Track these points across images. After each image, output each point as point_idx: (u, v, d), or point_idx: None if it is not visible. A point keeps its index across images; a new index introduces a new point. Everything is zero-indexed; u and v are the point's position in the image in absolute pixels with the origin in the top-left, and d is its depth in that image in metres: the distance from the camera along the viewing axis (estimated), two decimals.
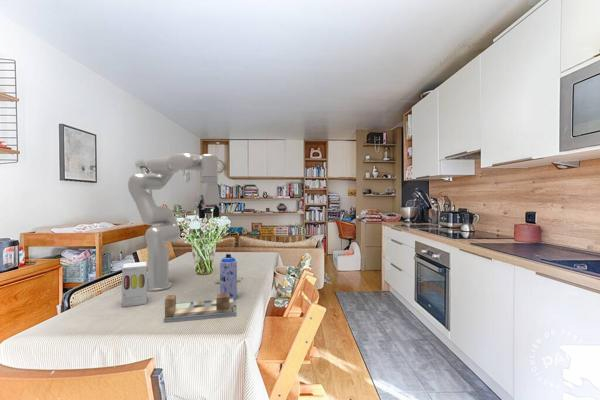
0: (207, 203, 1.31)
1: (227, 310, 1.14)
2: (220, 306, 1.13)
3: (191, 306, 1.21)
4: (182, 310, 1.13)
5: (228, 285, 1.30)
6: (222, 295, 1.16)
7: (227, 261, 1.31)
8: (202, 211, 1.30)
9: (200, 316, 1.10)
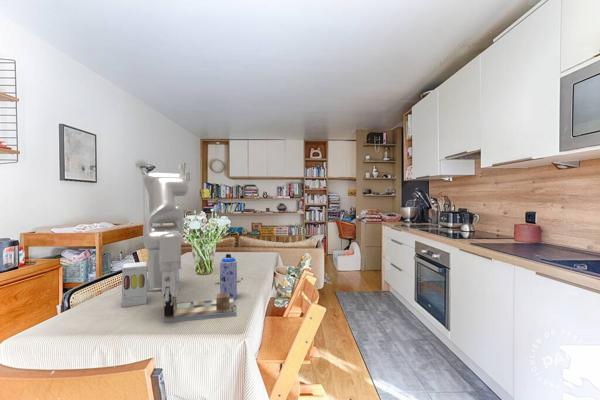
0: None
1: (227, 310, 1.14)
2: (220, 306, 1.13)
3: (191, 306, 1.21)
4: (182, 310, 1.13)
5: (228, 285, 1.30)
6: (222, 295, 1.16)
7: (227, 261, 1.31)
8: None
9: (200, 316, 1.10)
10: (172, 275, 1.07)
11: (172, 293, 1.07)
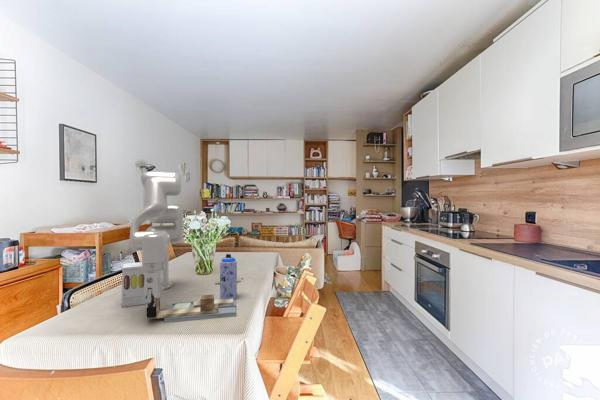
0: None
1: (211, 311, 1.13)
2: (204, 307, 1.12)
3: (191, 306, 1.21)
4: (165, 311, 1.11)
5: (228, 285, 1.30)
6: (206, 296, 1.14)
7: (227, 261, 1.31)
8: None
9: (200, 316, 1.10)
10: (154, 276, 1.06)
11: (154, 294, 1.05)
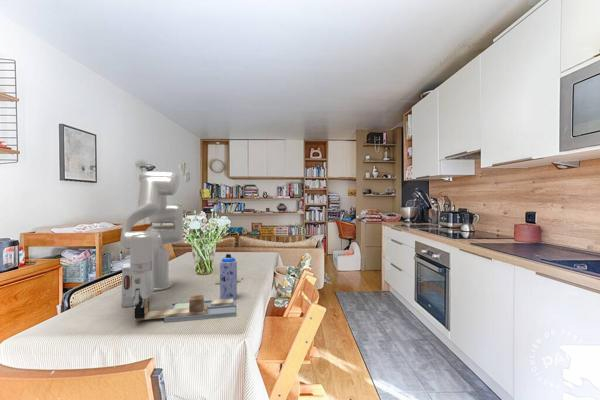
0: None
1: (200, 312, 1.12)
2: (192, 308, 1.11)
3: None
4: (154, 312, 1.10)
5: (228, 285, 1.30)
6: (196, 297, 1.13)
7: (227, 261, 1.31)
8: None
9: (200, 316, 1.10)
10: (142, 276, 1.05)
11: (142, 295, 1.04)
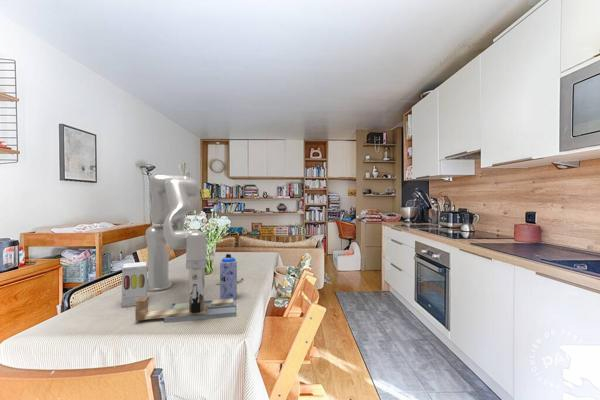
0: None
1: (200, 312, 1.12)
2: None
3: None
4: (154, 312, 1.10)
5: (228, 285, 1.30)
6: None
7: (227, 261, 1.31)
8: None
9: (200, 316, 1.10)
10: (199, 273, 1.09)
11: (199, 291, 1.09)
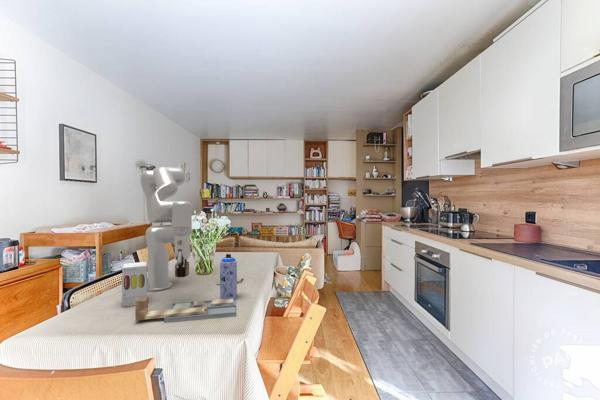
0: None
1: (200, 312, 1.12)
2: None
3: (191, 306, 1.21)
4: (154, 312, 1.10)
5: (228, 285, 1.30)
6: None
7: (227, 261, 1.31)
8: None
9: (200, 316, 1.10)
10: (184, 239, 1.16)
11: (184, 255, 1.15)
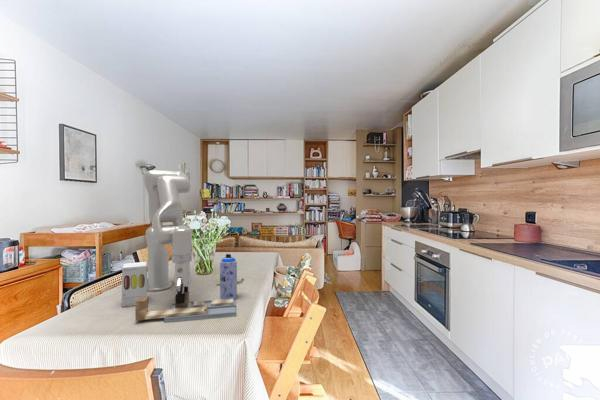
0: None
1: (200, 312, 1.12)
2: (178, 304, 1.17)
3: (191, 306, 1.21)
4: (154, 312, 1.10)
5: (228, 285, 1.30)
6: None
7: (227, 261, 1.31)
8: None
9: (200, 316, 1.10)
10: (184, 266, 1.16)
11: (184, 283, 1.15)
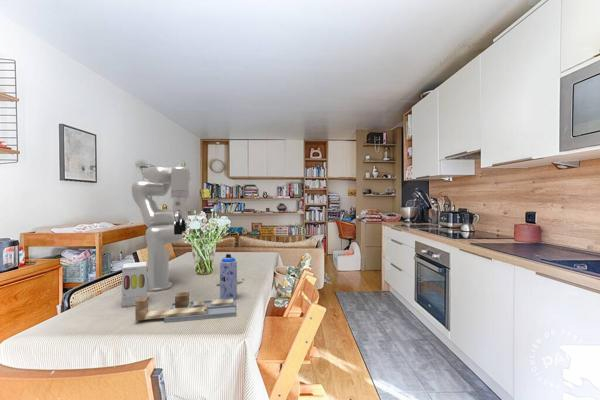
0: None
1: (200, 312, 1.12)
2: (178, 304, 1.17)
3: (191, 306, 1.21)
4: (154, 312, 1.10)
5: (228, 285, 1.30)
6: (181, 294, 1.20)
7: (227, 261, 1.31)
8: None
9: (200, 316, 1.10)
10: (182, 200, 1.25)
11: (182, 216, 1.25)
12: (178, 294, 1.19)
